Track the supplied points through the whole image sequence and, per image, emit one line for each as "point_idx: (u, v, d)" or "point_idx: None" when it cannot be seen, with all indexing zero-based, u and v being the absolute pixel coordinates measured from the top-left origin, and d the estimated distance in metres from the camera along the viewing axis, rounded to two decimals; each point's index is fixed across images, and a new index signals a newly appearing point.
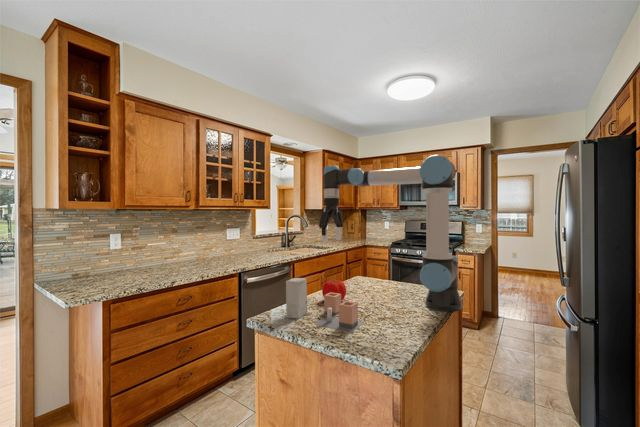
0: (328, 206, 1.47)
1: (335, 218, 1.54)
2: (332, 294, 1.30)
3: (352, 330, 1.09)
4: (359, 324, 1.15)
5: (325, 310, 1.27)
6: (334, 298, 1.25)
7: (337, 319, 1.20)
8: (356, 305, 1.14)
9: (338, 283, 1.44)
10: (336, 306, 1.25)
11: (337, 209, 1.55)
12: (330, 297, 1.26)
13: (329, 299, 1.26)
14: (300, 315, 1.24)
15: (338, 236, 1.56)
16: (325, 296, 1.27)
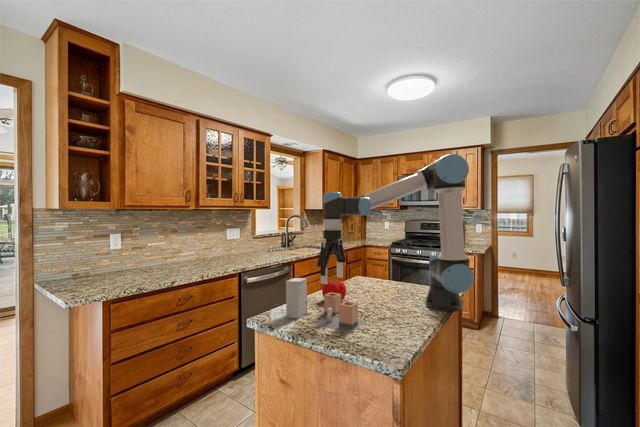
0: (328, 240, 1.25)
1: (336, 252, 1.31)
2: (332, 294, 1.30)
3: (352, 330, 1.09)
4: (359, 324, 1.15)
5: (325, 310, 1.27)
6: (334, 298, 1.25)
7: (337, 319, 1.20)
8: (356, 305, 1.14)
9: (338, 283, 1.44)
10: (336, 306, 1.25)
11: (339, 242, 1.33)
12: (330, 297, 1.26)
13: (329, 299, 1.26)
14: (300, 315, 1.24)
15: (340, 273, 1.34)
16: (325, 296, 1.27)
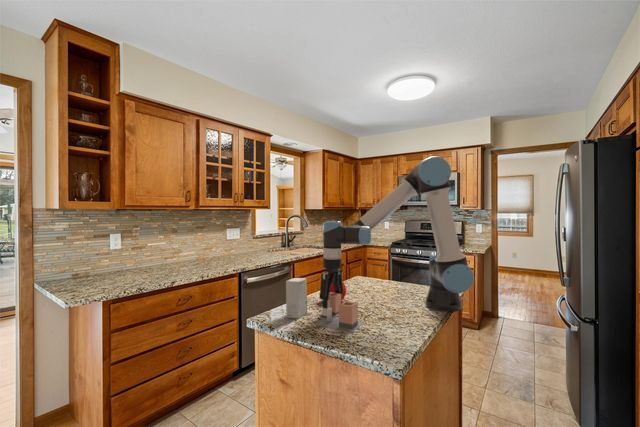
0: (328, 269, 1.25)
1: (335, 282, 1.30)
2: (332, 294, 1.30)
3: (352, 330, 1.09)
4: (359, 324, 1.15)
5: None
6: (334, 298, 1.25)
7: (337, 319, 1.20)
8: (356, 305, 1.14)
9: None
10: (336, 306, 1.25)
11: (338, 271, 1.32)
12: (330, 297, 1.26)
13: (329, 299, 1.26)
14: (300, 315, 1.24)
15: None
16: None
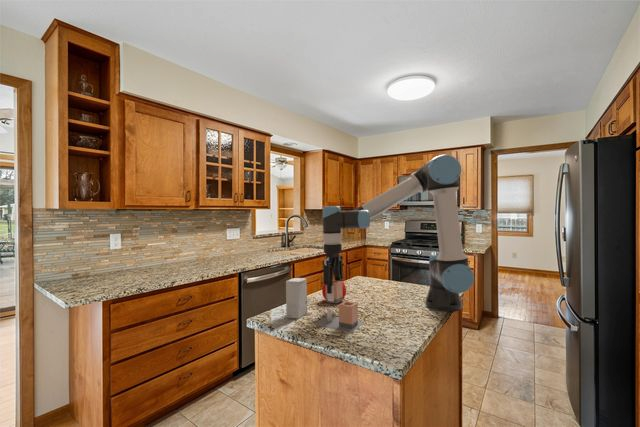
0: (329, 254, 1.25)
1: (335, 268, 1.30)
2: (333, 281, 1.30)
3: (352, 330, 1.09)
4: (359, 324, 1.15)
5: (326, 297, 1.27)
6: (335, 285, 1.25)
7: (337, 319, 1.20)
8: (356, 305, 1.14)
9: None
10: (337, 293, 1.25)
11: (339, 257, 1.32)
12: None
13: None
14: (300, 315, 1.24)
15: None
16: None
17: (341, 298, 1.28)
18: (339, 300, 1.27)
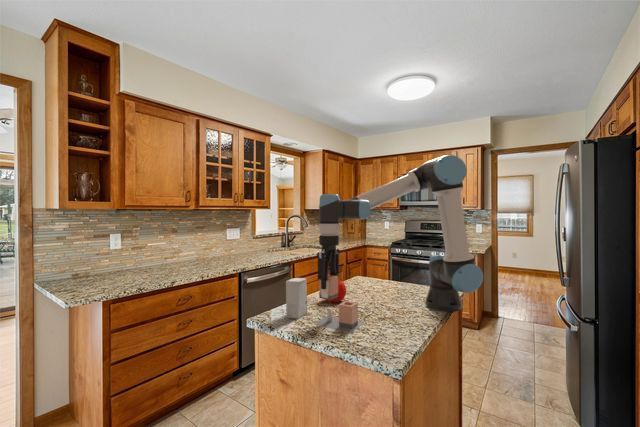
0: (324, 247, 1.14)
1: (331, 262, 1.19)
2: (328, 276, 1.20)
3: (352, 330, 1.09)
4: (359, 324, 1.15)
5: (320, 293, 1.17)
6: (330, 280, 1.14)
7: (337, 319, 1.20)
8: (356, 305, 1.14)
9: (338, 283, 1.44)
10: (332, 289, 1.15)
11: (336, 250, 1.22)
12: None
13: None
14: (300, 315, 1.24)
15: None
16: None
17: (336, 295, 1.18)
18: (334, 297, 1.16)
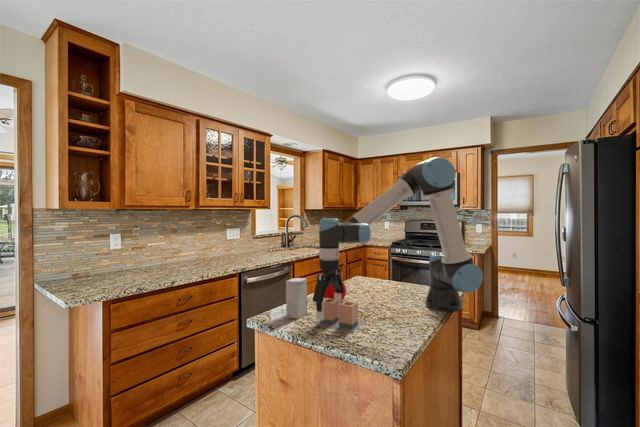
0: (325, 271, 1.14)
1: (334, 283, 1.21)
2: (329, 300, 1.20)
3: (352, 330, 1.09)
4: (359, 324, 1.15)
5: None
6: (331, 304, 1.14)
7: None
8: (356, 305, 1.14)
9: None
10: (333, 314, 1.15)
11: (336, 271, 1.22)
12: (326, 303, 1.15)
13: (325, 306, 1.16)
14: (300, 315, 1.24)
15: None
16: None
17: (337, 318, 1.18)
18: (335, 321, 1.16)
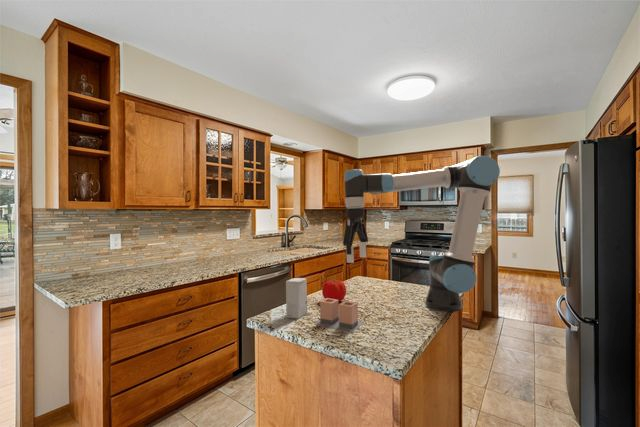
0: (352, 218, 1.22)
1: (359, 232, 1.29)
2: (329, 300, 1.20)
3: (352, 330, 1.09)
4: (359, 324, 1.15)
5: (321, 318, 1.17)
6: (331, 304, 1.14)
7: None
8: (356, 305, 1.14)
9: (338, 283, 1.44)
10: (333, 314, 1.15)
11: (361, 221, 1.30)
12: (326, 303, 1.15)
13: (325, 306, 1.16)
14: (300, 315, 1.24)
15: (363, 253, 1.31)
16: (321, 302, 1.17)
17: (337, 318, 1.18)
18: (335, 321, 1.16)
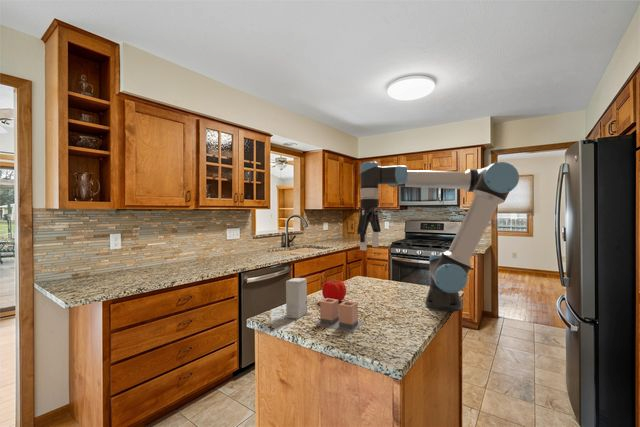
0: (366, 208, 1.28)
1: (373, 222, 1.34)
2: (329, 300, 1.20)
3: (352, 330, 1.09)
4: (359, 324, 1.15)
5: (321, 318, 1.17)
6: (331, 304, 1.14)
7: None
8: (356, 305, 1.14)
9: (338, 283, 1.44)
10: (333, 314, 1.15)
11: (375, 212, 1.36)
12: (326, 303, 1.15)
13: (325, 306, 1.16)
14: (300, 315, 1.24)
15: (375, 242, 1.37)
16: (321, 302, 1.17)
17: (337, 318, 1.18)
18: (335, 321, 1.16)
